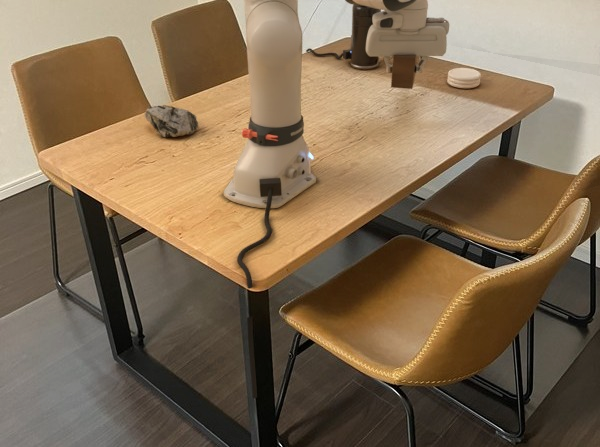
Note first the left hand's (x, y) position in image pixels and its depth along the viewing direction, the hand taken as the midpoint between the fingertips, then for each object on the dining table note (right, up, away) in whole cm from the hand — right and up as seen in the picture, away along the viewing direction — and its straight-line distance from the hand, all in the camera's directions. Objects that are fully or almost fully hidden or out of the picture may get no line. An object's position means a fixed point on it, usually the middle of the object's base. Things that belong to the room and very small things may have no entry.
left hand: (403, 72), depth 161 cm
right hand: (+9, +25, +11) cm, 29 cm away
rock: (-61, -14, +6) cm, 63 cm away
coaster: (+24, +4, +33) cm, 41 cm away
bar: (+2, +2, +9) cm, 10 cm away
